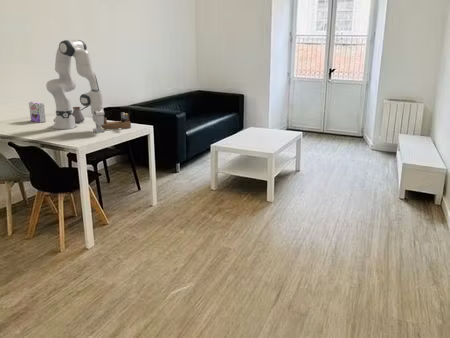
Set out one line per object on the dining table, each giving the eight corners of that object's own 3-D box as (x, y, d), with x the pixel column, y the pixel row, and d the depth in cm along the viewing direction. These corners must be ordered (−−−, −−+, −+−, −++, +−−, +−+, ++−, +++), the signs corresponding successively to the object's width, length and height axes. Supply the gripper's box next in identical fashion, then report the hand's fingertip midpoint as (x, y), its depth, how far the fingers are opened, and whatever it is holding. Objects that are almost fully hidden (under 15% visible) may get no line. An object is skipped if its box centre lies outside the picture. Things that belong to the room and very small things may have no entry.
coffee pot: (75, 124, 343) (73, 106, 339) (68, 122, 350) (66, 104, 346) (97, 120, 358) (96, 103, 354) (90, 119, 366) (89, 102, 361)
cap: (93, 132, 317) (92, 127, 316) (103, 131, 321) (103, 127, 320) (94, 133, 314) (94, 128, 312) (104, 132, 317) (104, 128, 316)
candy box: (30, 120, 352) (28, 101, 347) (37, 119, 356) (34, 101, 351) (39, 123, 344) (37, 103, 339) (46, 122, 349) (44, 102, 344)
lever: (124, 124, 323) (124, 113, 320) (120, 121, 333) (120, 111, 331) (128, 123, 324) (128, 113, 322) (124, 120, 335) (124, 110, 332)
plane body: (101, 128, 329) (100, 115, 325) (128, 126, 340) (127, 113, 336) (103, 130, 323) (102, 116, 320) (130, 128, 334) (130, 114, 330)
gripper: (90, 109, 319) (91, 126, 323) (96, 113, 302) (97, 131, 306) (98, 108, 322) (99, 125, 326) (104, 112, 305) (106, 131, 310)
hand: (98, 128), depth 316 cm, fingers open, 5 cm apart
